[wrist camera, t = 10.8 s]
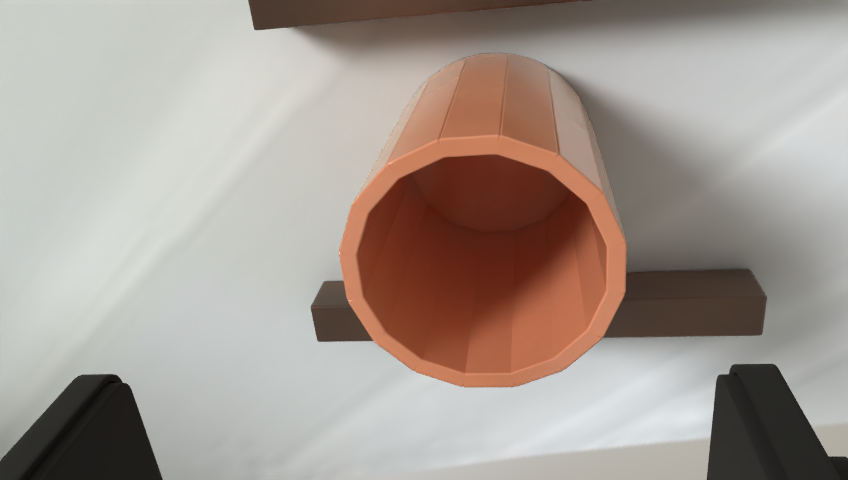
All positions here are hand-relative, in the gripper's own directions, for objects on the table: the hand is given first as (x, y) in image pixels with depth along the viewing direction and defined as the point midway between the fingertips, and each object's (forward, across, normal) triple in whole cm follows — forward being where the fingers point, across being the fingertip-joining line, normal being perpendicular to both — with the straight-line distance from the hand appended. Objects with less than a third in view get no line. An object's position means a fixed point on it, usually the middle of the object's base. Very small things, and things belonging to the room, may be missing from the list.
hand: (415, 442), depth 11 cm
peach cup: (+15, -1, 0) cm, 15 cm away
